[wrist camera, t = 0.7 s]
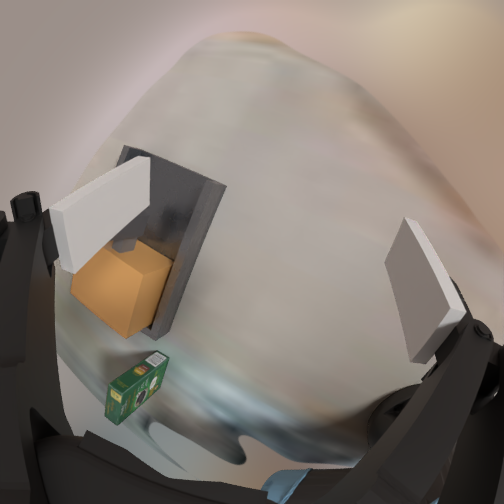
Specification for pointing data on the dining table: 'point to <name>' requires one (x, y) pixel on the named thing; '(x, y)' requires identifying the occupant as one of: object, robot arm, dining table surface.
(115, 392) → the coffee box
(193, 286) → the dining table surface
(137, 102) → the dining table surface
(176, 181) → the bay
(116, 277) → the grey and orange block
